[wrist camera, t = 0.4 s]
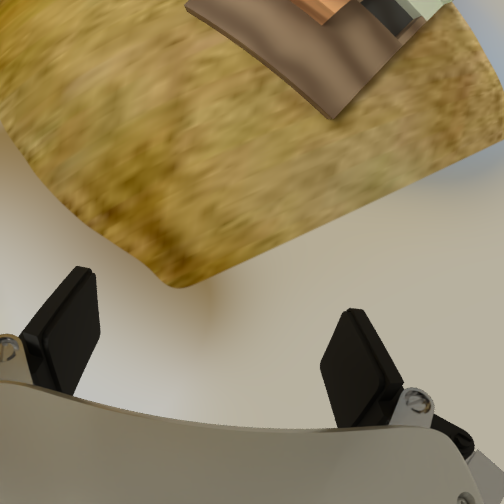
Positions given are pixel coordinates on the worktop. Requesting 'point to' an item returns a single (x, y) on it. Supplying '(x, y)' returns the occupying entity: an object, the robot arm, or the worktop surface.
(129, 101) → the worktop surface
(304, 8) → the block
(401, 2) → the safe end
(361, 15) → the track
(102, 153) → the worktop surface
